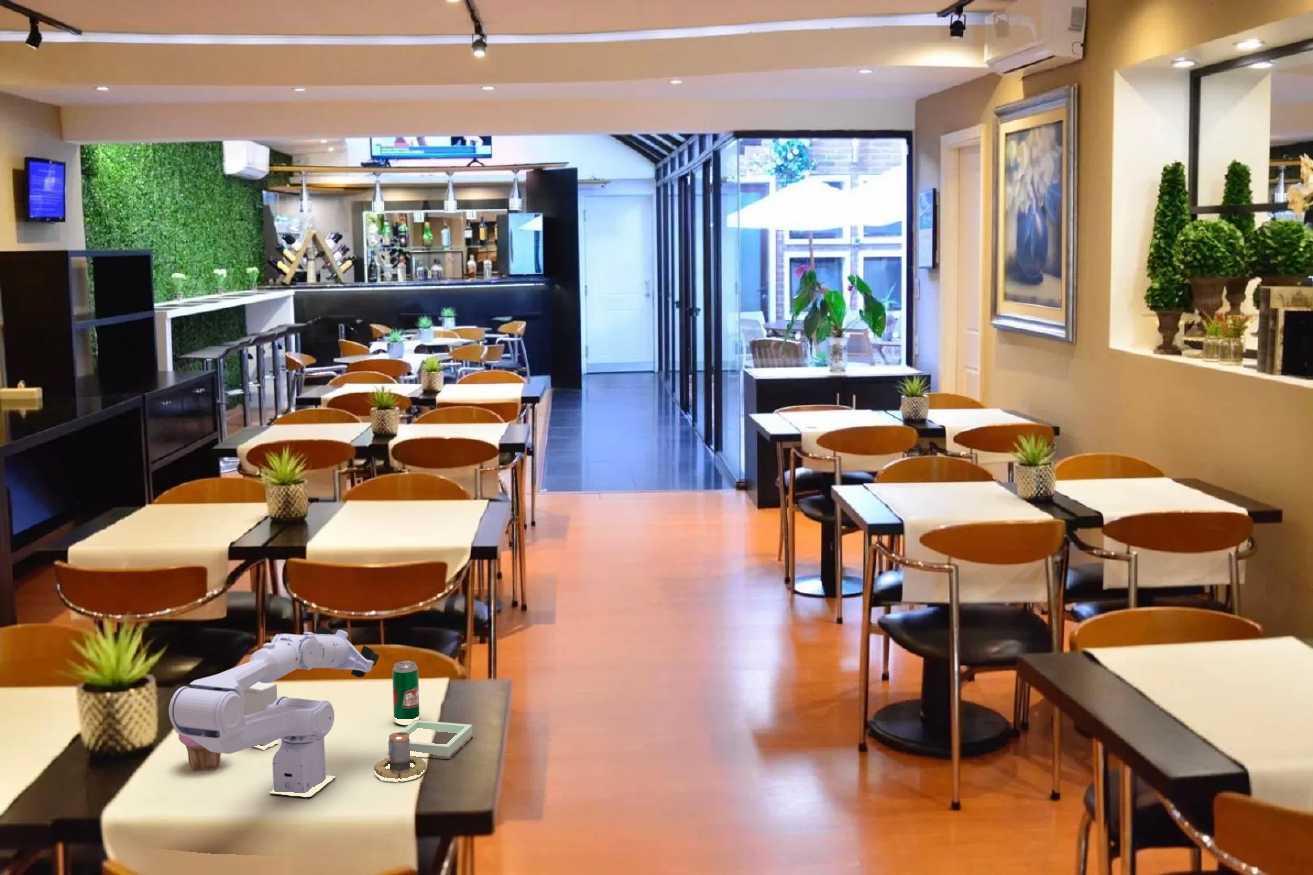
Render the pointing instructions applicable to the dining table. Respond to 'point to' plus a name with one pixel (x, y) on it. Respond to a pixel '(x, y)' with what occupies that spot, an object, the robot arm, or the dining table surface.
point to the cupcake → (199, 755)
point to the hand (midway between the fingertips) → (359, 651)
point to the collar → (416, 770)
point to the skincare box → (259, 698)
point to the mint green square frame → (439, 749)
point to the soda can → (405, 690)
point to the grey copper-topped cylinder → (399, 751)
